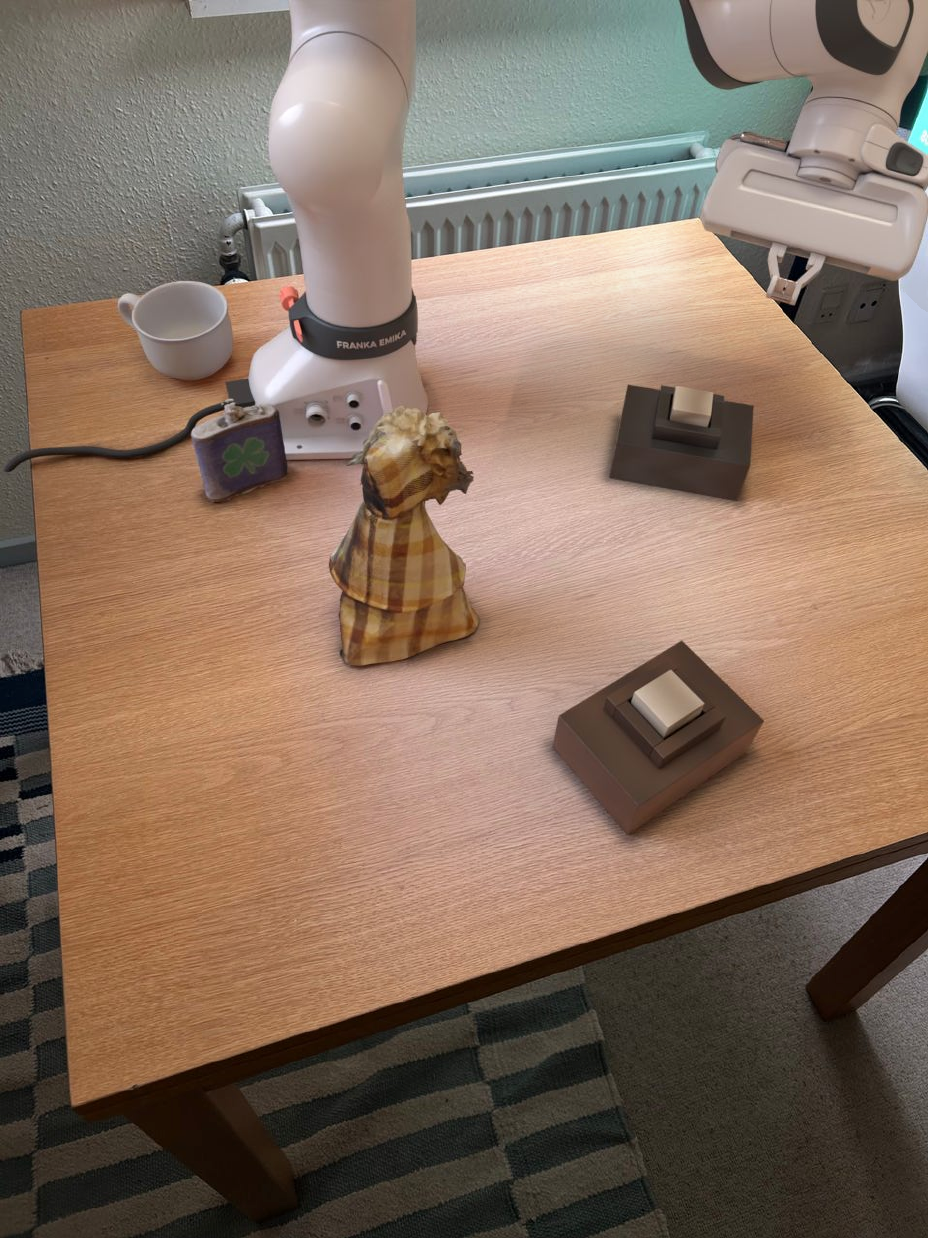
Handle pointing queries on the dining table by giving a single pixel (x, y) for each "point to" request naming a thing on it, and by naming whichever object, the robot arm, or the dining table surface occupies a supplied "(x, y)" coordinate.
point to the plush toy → (402, 544)
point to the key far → (691, 406)
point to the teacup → (181, 328)
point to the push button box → (653, 739)
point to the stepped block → (683, 445)
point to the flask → (240, 450)
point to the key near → (667, 703)
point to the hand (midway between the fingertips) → (780, 300)
